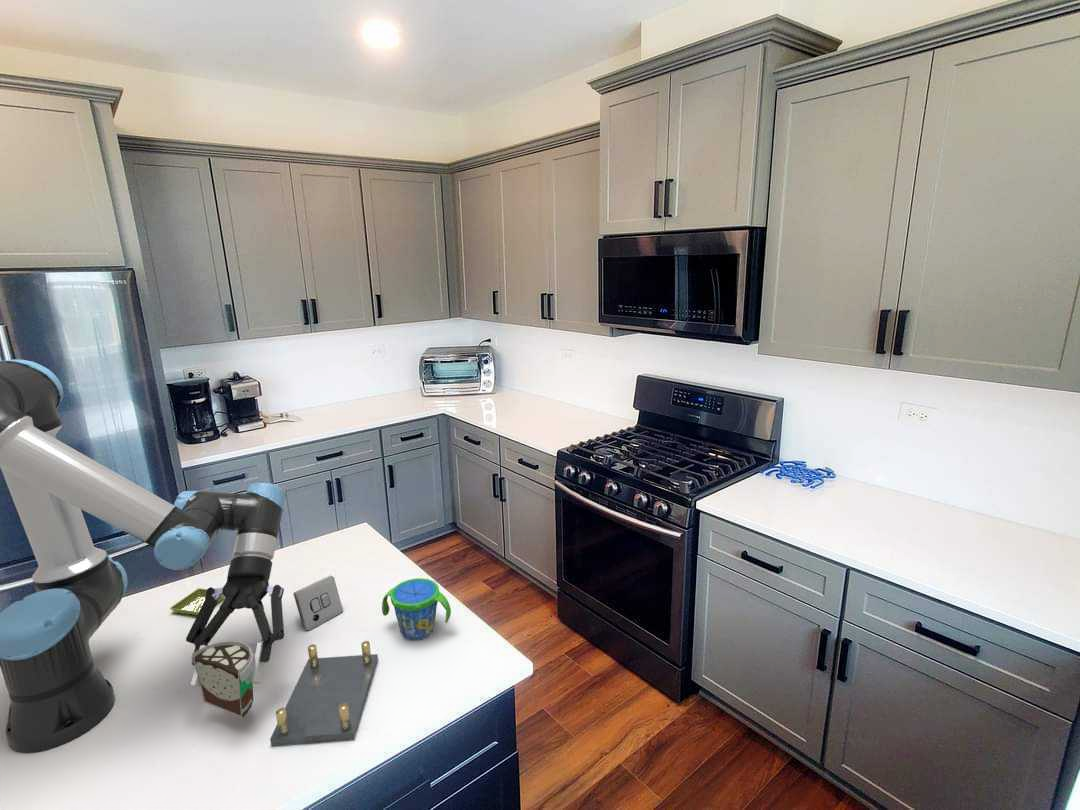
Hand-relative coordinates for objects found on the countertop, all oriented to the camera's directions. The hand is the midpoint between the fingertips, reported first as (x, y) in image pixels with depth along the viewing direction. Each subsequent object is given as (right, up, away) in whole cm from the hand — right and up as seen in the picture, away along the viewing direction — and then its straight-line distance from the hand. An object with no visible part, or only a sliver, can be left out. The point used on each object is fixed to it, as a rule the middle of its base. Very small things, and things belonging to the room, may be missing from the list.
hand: (225, 683), depth 99 cm
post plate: (+16, -6, +6) cm, 18 cm away
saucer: (-27, 0, +36) cm, 45 cm away
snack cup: (+29, -1, +25) cm, 38 cm away
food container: (+1, -4, +2) cm, 4 cm away
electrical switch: (+5, 0, +30) cm, 31 cm away
